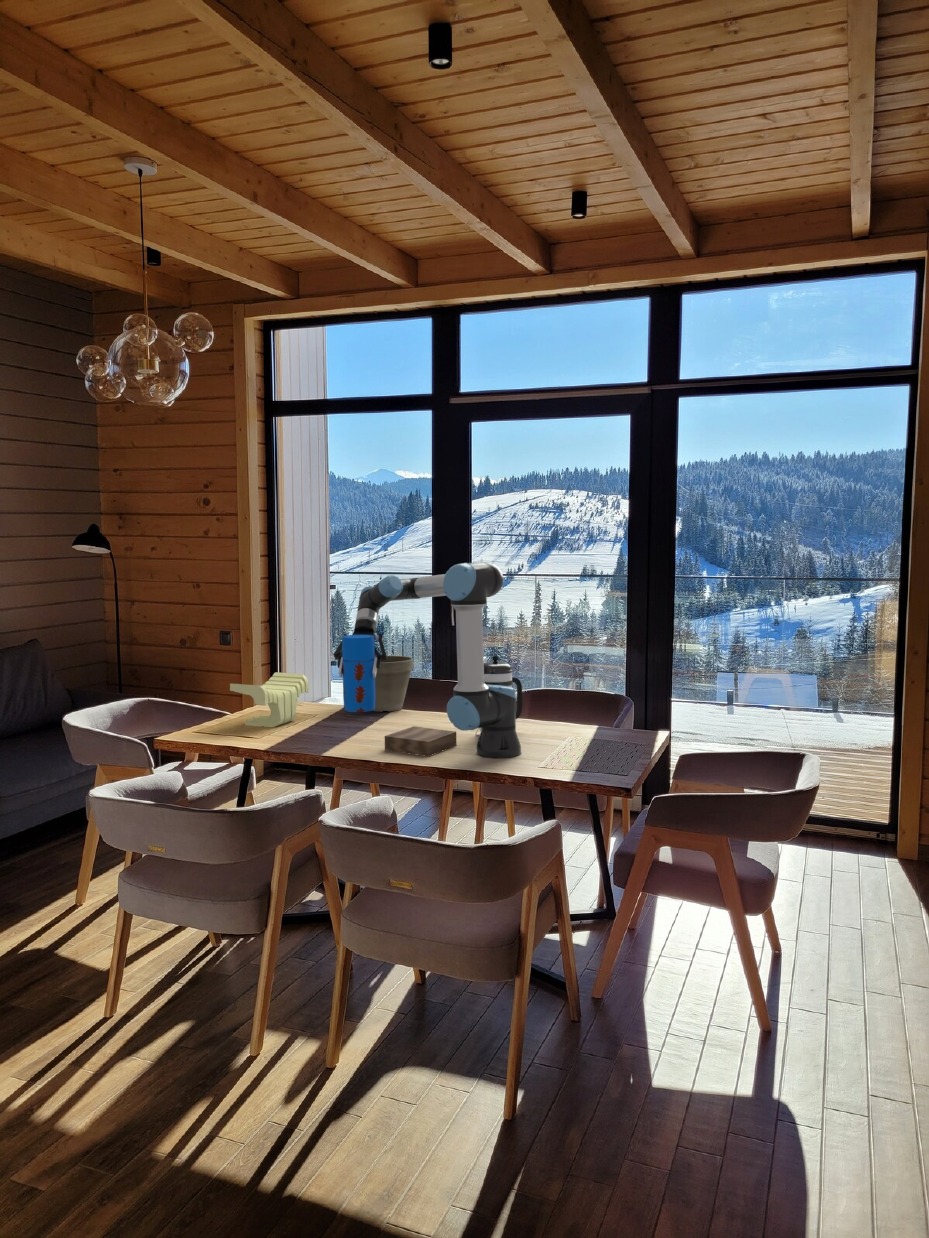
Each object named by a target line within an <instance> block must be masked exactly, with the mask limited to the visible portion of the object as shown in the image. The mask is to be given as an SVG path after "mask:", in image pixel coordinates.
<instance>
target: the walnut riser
mask: <svg viewBox="0 0 929 1238" xmlns="http://www.w3.org/2000/svg"><path fill="white" fill-rule="evenodd" d="M456 746H457V731H455V730H447V729H438V728H431V727H423V726H422V727H421V726H411V727H408V728H405V729H402V730H399V731H395V732H393V733H390V734H386V735H384V751H387V752H393V753H394V752H395V753H402V754H408V753H410V754H409V755H415V754H418V755H417V756H422V755H425V756H424V757H431V756H433V755H432V754H434V753H436V754H439V753H441V752H443V751H442V750H444V751H446V750H449V749H452V748H453V747H456ZM445 749H446V750H445ZM430 755H431V756H430ZM434 755H435V754H434Z"/></svg>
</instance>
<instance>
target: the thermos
mask: <svg viewBox="0 0 929 1238" xmlns="http://www.w3.org/2000/svg"><path fill="white" fill-rule="evenodd" d="M341 641H342V659H343V675H342V692H343V693H342V695H343V697H342V699H343V709H344V711H345V712H349V713H365V712H373V711H372V710H374V709H375V678H374V677H373V673H372V672H373V665H374V659H375V651H374V646H375V641H374V636H373V635H352V634H349V635H348V634H347V635H346V636H344V635H342V640H341Z"/></svg>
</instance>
